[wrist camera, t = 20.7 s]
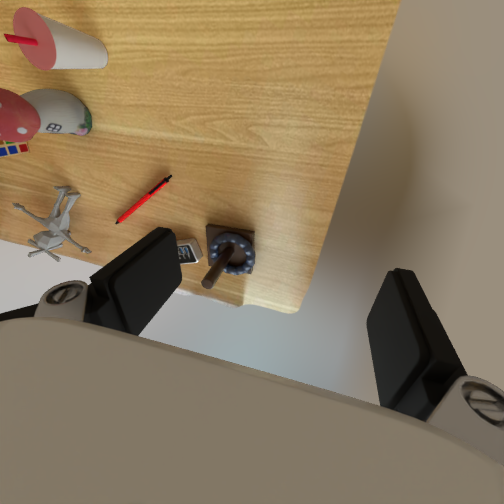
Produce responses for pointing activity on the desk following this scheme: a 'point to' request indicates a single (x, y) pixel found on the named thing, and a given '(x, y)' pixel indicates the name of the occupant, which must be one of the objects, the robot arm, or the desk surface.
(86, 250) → the figurine
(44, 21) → the cup
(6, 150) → the rubik's cube
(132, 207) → the pen
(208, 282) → the stand
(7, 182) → the desk surface
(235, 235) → the ring
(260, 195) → the desk surface
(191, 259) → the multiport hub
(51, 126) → the decorative ornament
